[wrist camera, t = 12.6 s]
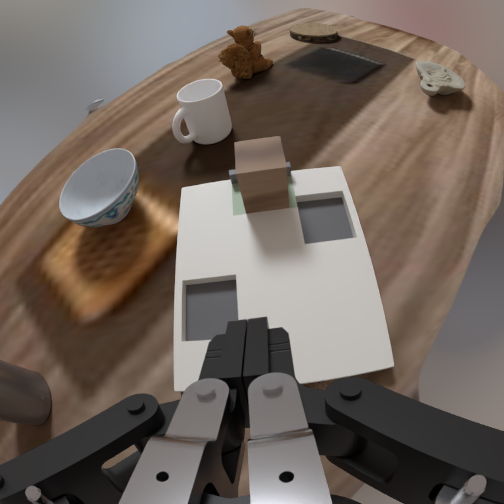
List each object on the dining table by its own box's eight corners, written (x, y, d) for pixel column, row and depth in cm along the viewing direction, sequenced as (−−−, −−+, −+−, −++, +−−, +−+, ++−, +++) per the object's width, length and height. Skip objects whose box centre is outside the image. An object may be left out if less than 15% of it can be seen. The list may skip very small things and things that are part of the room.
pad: (297, 215, 42) (297, 207, 41) (235, 223, 43) (233, 215, 41) (290, 180, 46) (289, 171, 44) (233, 187, 47) (231, 179, 45)
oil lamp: (451, 119, 50) (456, 102, 46) (397, 92, 56) (400, 75, 52) (465, 91, 56) (469, 77, 52) (421, 70, 62) (423, 56, 58)
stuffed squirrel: (274, 63, 68) (269, 21, 57) (254, 85, 62) (247, 37, 51) (241, 61, 71) (233, 21, 60) (218, 83, 65) (207, 39, 54)
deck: (389, 368, 30) (399, 363, 27) (180, 391, 32) (167, 389, 29) (339, 174, 45) (341, 156, 42) (185, 195, 47) (178, 179, 44)
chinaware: (170, 192, 48) (153, 160, 42) (111, 260, 43) (84, 235, 36) (121, 169, 54) (104, 141, 47) (70, 224, 49) (48, 200, 42)
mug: (197, 163, 51) (180, 118, 42) (169, 149, 54) (151, 108, 45) (241, 127, 54) (232, 83, 45) (212, 116, 58) (200, 76, 49)
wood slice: (346, 41, 74) (346, 33, 72) (303, 45, 74) (303, 37, 71) (322, 28, 82) (322, 21, 80) (282, 33, 82) (282, 25, 79)
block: (289, 208, 41) (286, 167, 34) (246, 213, 41) (235, 174, 34) (283, 176, 44) (279, 136, 37) (243, 182, 44) (234, 142, 37)
